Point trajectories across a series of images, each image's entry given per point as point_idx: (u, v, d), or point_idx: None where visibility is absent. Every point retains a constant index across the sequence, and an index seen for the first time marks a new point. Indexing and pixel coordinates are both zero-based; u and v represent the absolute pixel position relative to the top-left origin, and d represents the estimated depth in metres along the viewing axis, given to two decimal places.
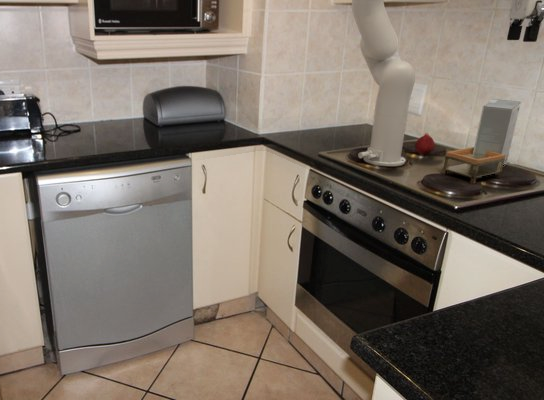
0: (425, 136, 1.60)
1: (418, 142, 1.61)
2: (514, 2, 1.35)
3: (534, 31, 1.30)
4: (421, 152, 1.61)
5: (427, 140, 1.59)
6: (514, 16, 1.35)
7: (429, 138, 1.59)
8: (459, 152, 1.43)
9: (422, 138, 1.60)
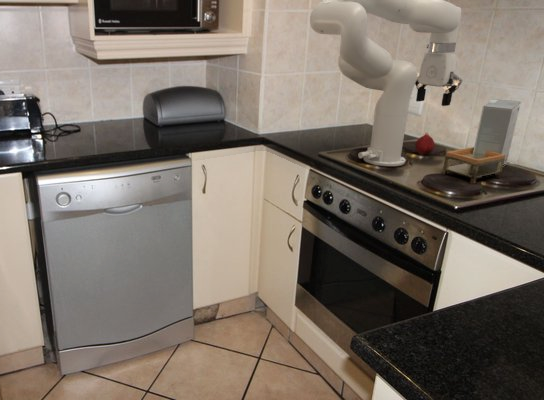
0: (425, 136, 1.60)
1: (418, 142, 1.61)
2: (424, 70, 1.54)
3: (450, 97, 1.51)
4: (421, 152, 1.61)
5: (427, 140, 1.59)
6: (428, 83, 1.54)
7: (429, 138, 1.59)
8: (459, 152, 1.43)
9: (422, 138, 1.60)
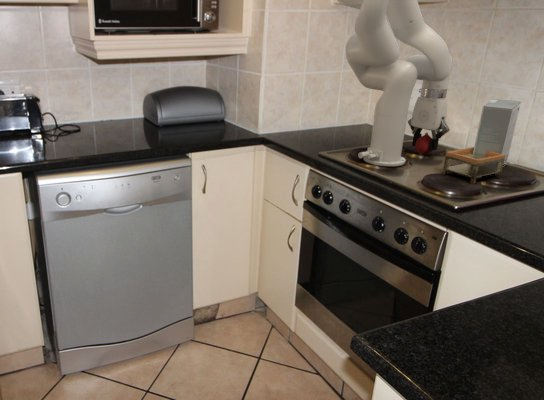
0: (425, 136, 1.60)
1: (418, 142, 1.61)
2: (417, 114, 1.59)
3: (436, 142, 1.57)
4: (421, 152, 1.61)
5: (426, 140, 1.59)
6: (420, 126, 1.59)
7: (429, 138, 1.59)
8: (459, 152, 1.43)
9: (422, 138, 1.60)
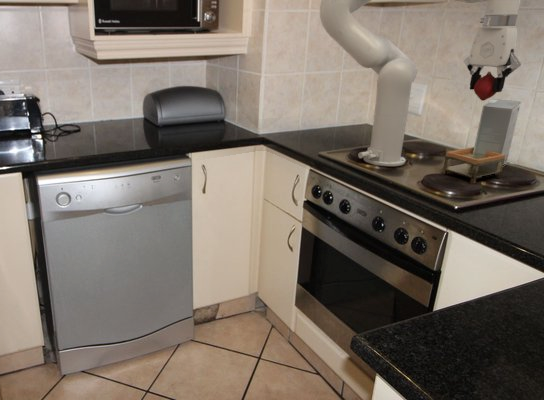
0: (487, 75, 1.32)
1: (479, 83, 1.33)
2: (478, 49, 1.31)
3: (502, 82, 1.30)
4: (482, 95, 1.33)
5: (490, 80, 1.31)
6: (482, 63, 1.31)
7: (492, 78, 1.32)
8: (459, 152, 1.43)
9: (484, 78, 1.33)
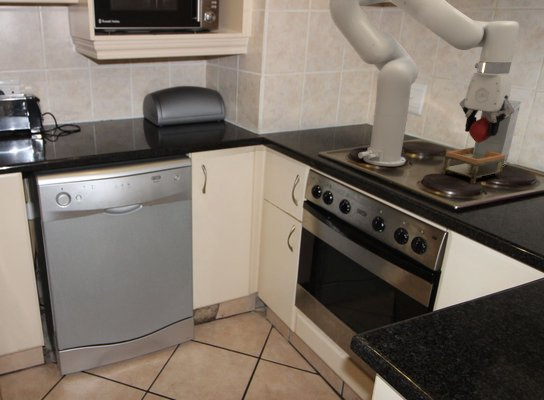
0: (482, 119, 1.35)
1: (474, 126, 1.36)
2: (473, 93, 1.34)
3: (497, 126, 1.33)
4: (477, 138, 1.36)
5: (484, 124, 1.34)
6: (476, 107, 1.34)
7: (487, 122, 1.35)
8: (459, 152, 1.43)
9: (479, 122, 1.35)
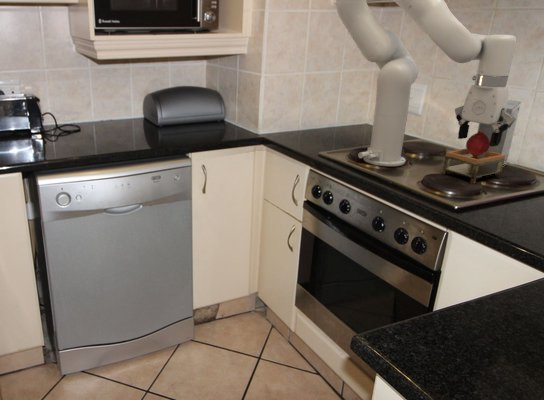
0: (479, 134, 1.37)
1: (471, 141, 1.38)
2: (470, 105, 1.36)
3: (499, 137, 1.32)
4: (474, 152, 1.38)
5: (481, 138, 1.36)
6: (473, 120, 1.35)
7: (484, 136, 1.36)
8: (459, 152, 1.43)
9: (475, 136, 1.37)
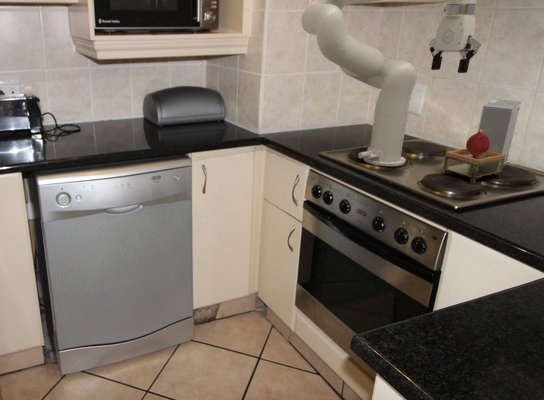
0: (479, 134, 1.37)
1: (471, 141, 1.38)
2: (440, 35, 1.44)
3: (467, 63, 1.40)
4: (474, 152, 1.38)
5: (481, 138, 1.36)
6: (443, 49, 1.44)
7: (484, 136, 1.36)
8: (459, 152, 1.43)
9: (475, 136, 1.37)
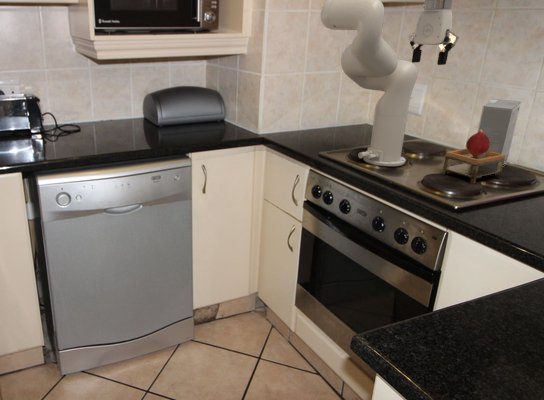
0: (479, 134, 1.37)
1: (471, 141, 1.38)
2: (420, 29, 1.52)
3: (446, 55, 1.48)
4: (474, 152, 1.38)
5: (481, 138, 1.36)
6: (423, 42, 1.51)
7: (484, 136, 1.36)
8: (459, 152, 1.43)
9: (475, 136, 1.37)
